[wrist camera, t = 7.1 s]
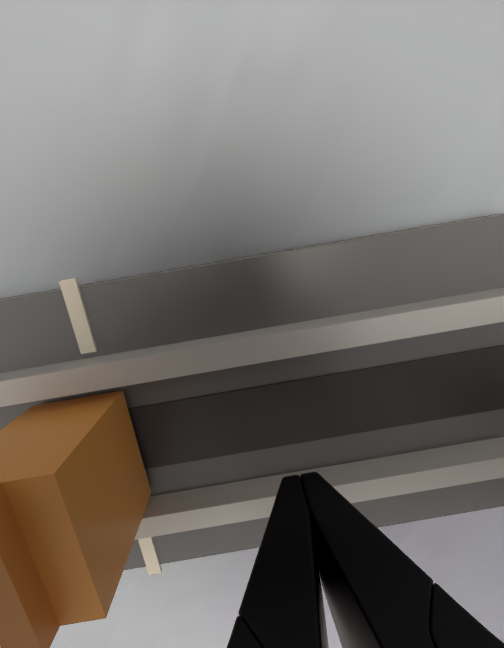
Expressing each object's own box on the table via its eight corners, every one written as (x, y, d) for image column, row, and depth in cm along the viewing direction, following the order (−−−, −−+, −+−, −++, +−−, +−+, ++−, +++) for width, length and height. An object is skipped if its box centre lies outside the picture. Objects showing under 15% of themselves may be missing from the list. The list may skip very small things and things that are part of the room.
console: (492, 472, 15) (556, 529, 12) (15, 553, 15) (-41, 629, 12) (496, 205, 12) (579, 192, 9) (-90, 305, 12) (-197, 324, 9)
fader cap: (151, 492, 11) (94, 649, 7) (68, 506, 11) (-41, 671, 7) (122, 390, 11) (36, 495, 6) (32, 405, 11) (-121, 521, 6)
